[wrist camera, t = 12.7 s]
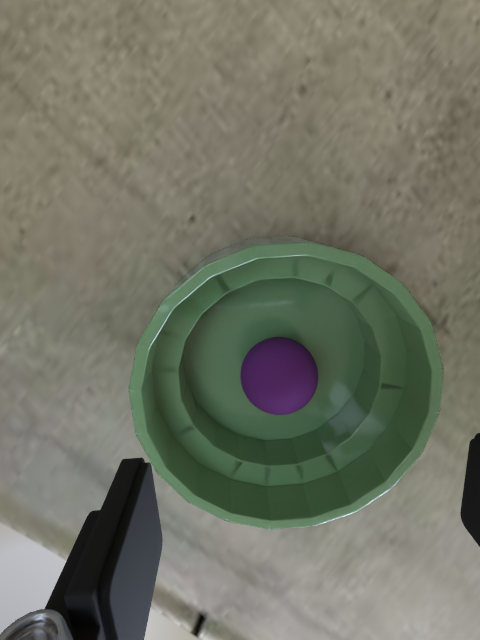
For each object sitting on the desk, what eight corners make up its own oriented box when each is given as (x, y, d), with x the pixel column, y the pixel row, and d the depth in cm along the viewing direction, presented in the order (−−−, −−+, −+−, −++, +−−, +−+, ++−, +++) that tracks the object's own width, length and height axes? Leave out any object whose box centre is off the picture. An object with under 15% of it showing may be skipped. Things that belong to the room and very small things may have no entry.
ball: (241, 394, 24) (243, 433, 20) (237, 329, 23) (238, 356, 19) (310, 390, 24) (326, 428, 20) (309, 324, 23) (327, 350, 19)
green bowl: (169, 467, 26) (151, 538, 20) (139, 245, 22) (106, 255, 16) (386, 451, 26) (431, 518, 20) (397, 227, 22) (456, 231, 16)
